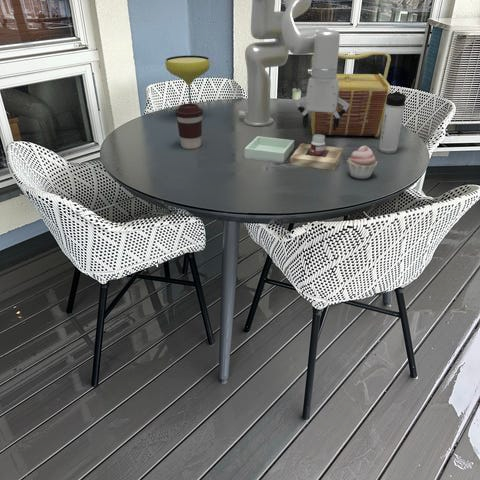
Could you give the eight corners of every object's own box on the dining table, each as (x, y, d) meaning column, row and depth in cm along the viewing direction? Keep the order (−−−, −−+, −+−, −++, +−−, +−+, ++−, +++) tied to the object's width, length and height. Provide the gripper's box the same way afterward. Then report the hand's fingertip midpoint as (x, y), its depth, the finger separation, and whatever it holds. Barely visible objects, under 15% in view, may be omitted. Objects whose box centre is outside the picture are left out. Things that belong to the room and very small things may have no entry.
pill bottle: (308, 157, 157) (310, 133, 153) (321, 157, 158) (324, 133, 153) (311, 162, 153) (313, 138, 149) (325, 161, 154) (327, 138, 149)
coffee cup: (209, 143, 170) (207, 103, 162) (196, 152, 163) (193, 110, 155) (186, 140, 174) (183, 100, 166) (172, 148, 166) (169, 107, 158)
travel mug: (396, 148, 164) (406, 92, 154) (396, 154, 159) (406, 97, 148) (379, 146, 166) (387, 91, 156) (377, 152, 161) (386, 95, 150)
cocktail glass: (189, 111, 208) (185, 54, 195) (220, 118, 199) (218, 57, 186) (161, 121, 196) (155, 60, 183) (193, 128, 187) (189, 64, 174)
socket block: (290, 164, 152) (290, 157, 150) (300, 150, 164) (301, 143, 162) (334, 170, 147) (335, 163, 146) (342, 154, 159) (343, 148, 158)
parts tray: (244, 158, 157) (244, 148, 155) (257, 145, 168) (257, 136, 167) (283, 163, 153) (283, 153, 151) (293, 149, 164) (294, 140, 162)
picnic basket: (374, 122, 192) (385, 46, 177) (385, 142, 170) (399, 57, 155) (305, 120, 195) (310, 46, 179) (307, 140, 173) (313, 57, 157)
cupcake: (357, 183, 138) (361, 152, 133) (339, 172, 146) (343, 142, 140) (381, 178, 141) (386, 147, 136) (363, 168, 149) (367, 138, 143)
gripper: (294, 74, 140) (292, 129, 149) (350, 77, 135) (344, 133, 144) (300, 70, 146) (297, 123, 155) (354, 73, 141) (348, 127, 150)
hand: (320, 128), depth 149 cm, fingers open, 9 cm apart
